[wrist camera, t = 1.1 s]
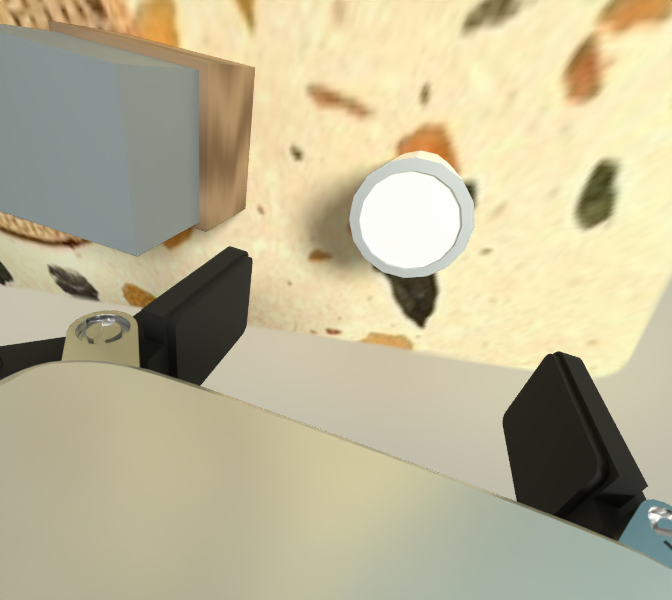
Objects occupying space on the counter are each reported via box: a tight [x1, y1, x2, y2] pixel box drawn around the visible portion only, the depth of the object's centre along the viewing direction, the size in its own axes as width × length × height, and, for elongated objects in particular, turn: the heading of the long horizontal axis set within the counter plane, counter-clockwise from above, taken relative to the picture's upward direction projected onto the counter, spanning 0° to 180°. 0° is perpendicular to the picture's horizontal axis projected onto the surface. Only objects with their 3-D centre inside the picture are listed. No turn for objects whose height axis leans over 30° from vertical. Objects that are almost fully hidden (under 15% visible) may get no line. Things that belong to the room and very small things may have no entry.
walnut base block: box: [48, 20, 255, 232], centre depth 25 cm, size 10×10×6 cm
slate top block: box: [0, 24, 199, 257], centre depth 20 cm, size 9×9×6 cm
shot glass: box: [349, 150, 474, 278], centre depth 23 cm, size 7×7×7 cm
